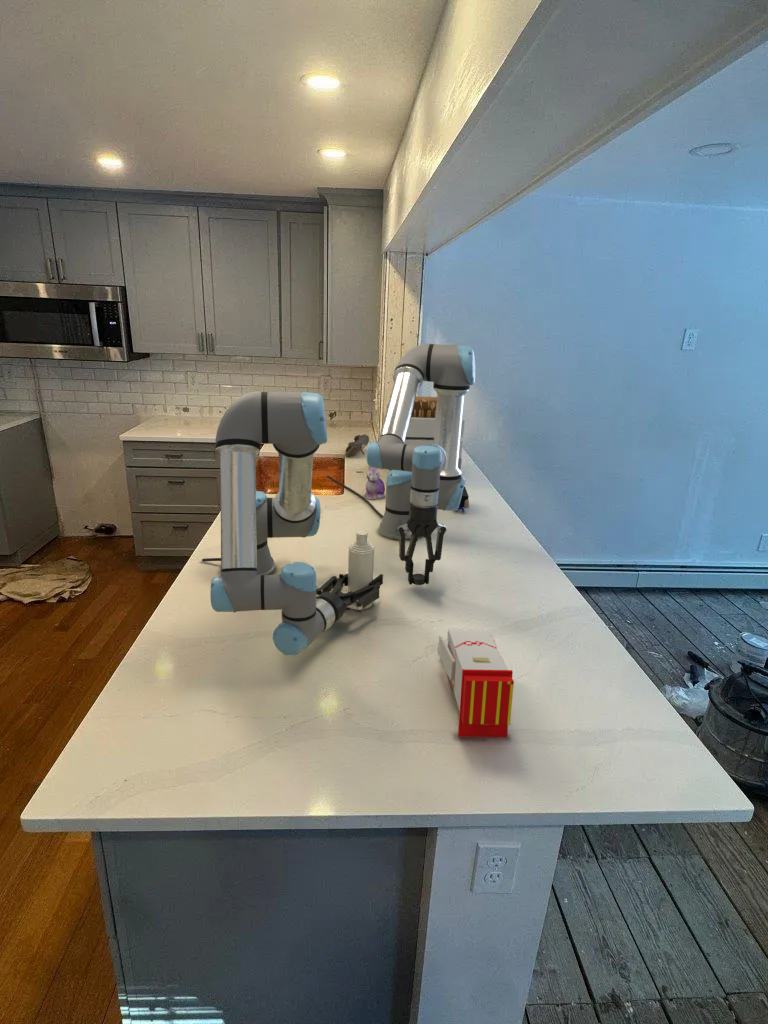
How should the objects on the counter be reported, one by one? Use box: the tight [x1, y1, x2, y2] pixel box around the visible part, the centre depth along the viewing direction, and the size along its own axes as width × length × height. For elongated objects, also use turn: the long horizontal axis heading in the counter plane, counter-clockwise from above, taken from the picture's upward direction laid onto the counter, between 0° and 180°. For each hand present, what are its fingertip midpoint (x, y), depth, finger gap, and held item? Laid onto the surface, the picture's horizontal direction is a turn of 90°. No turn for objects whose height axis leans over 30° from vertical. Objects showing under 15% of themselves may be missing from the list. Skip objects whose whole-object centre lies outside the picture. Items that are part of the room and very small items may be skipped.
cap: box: [412, 573, 426, 586], centre depth 160 cm, size 4×4×2 cm
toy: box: [437, 628, 515, 738], centre depth 117 cm, size 12×13×30 cm
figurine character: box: [455, 486, 470, 513], centre depth 227 cm, size 7×8×15 cm
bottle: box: [347, 530, 375, 610], centre depth 149 cm, size 7×7×20 cm
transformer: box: [386, 395, 465, 472], centre depth 268 cm, size 34×33×41 cm
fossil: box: [344, 433, 370, 458], centre depth 304 cm, size 22×10×15 cm
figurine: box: [364, 464, 386, 500], centre depth 235 cm, size 9×10×15 cm
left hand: (369, 575), depth 154 cm, fingers closed on bottle, 7 cm apart
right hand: (418, 582), depth 160 cm, fingers closed on cap, 4 cm apart
